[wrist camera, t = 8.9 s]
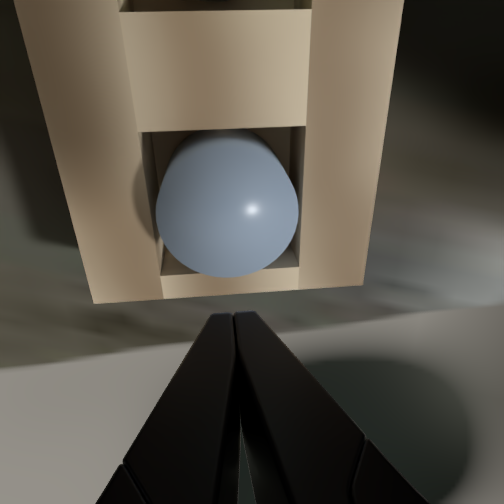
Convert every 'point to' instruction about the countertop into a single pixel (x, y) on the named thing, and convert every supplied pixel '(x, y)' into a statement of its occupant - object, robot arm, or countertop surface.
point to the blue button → (226, 203)
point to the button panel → (213, 124)
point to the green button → (214, 0)
